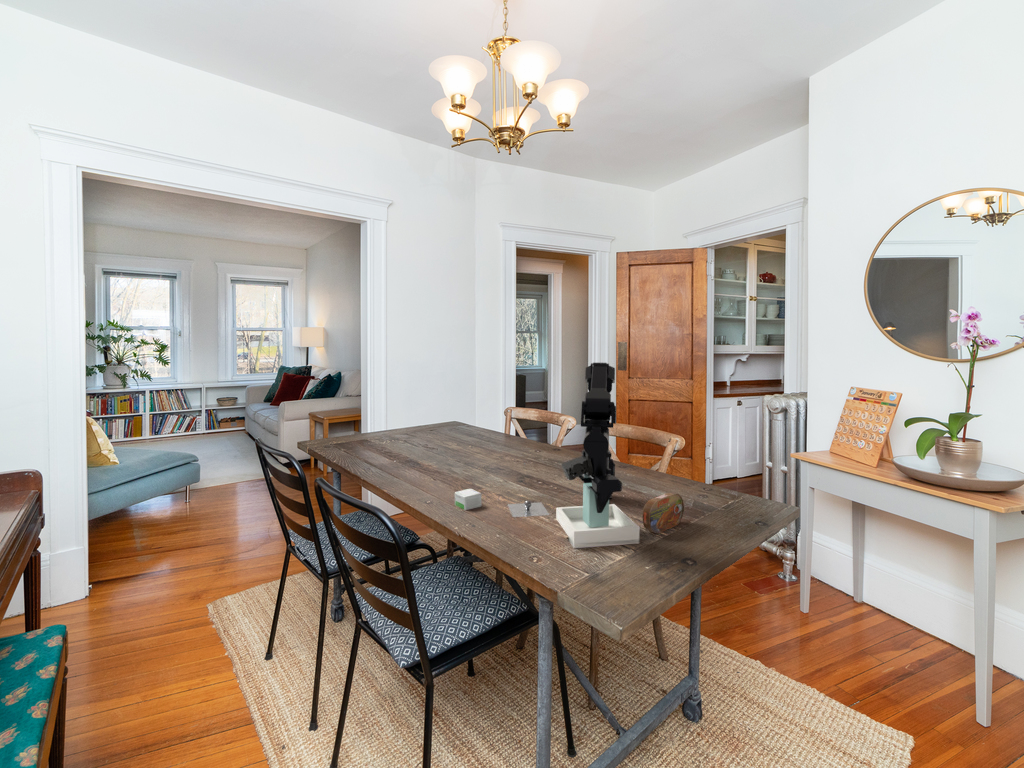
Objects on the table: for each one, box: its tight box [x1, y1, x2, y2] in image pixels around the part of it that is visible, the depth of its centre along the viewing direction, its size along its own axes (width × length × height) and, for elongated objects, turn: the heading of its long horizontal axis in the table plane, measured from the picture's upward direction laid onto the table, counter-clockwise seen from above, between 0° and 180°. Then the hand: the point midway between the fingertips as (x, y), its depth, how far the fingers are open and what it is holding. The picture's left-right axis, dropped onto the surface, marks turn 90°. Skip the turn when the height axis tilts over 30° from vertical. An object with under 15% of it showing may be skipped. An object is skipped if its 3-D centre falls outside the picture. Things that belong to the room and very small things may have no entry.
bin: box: [555, 503, 640, 549], centre depth 122 cm, size 16×16×4 cm
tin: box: [642, 492, 685, 534], centre depth 125 cm, size 15×3×8 cm, turn 129°
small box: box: [454, 488, 482, 511], centre depth 139 cm, size 6×6×5 cm
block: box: [582, 482, 610, 527], centre depth 122 cm, size 5×5×10 cm
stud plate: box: [507, 500, 550, 518], centre depth 136 cm, size 10×10×4 cm
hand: (595, 509), depth 122 cm, fingers closed on block, 5 cm apart
